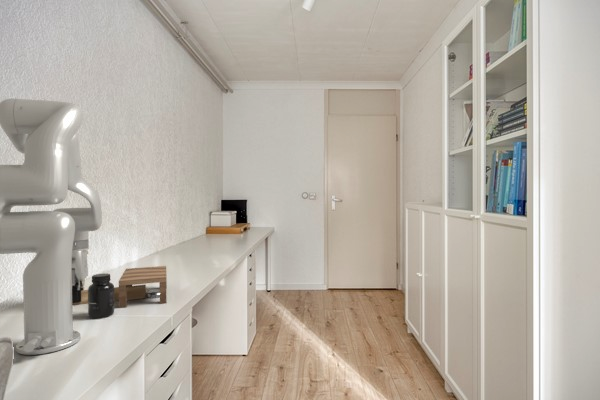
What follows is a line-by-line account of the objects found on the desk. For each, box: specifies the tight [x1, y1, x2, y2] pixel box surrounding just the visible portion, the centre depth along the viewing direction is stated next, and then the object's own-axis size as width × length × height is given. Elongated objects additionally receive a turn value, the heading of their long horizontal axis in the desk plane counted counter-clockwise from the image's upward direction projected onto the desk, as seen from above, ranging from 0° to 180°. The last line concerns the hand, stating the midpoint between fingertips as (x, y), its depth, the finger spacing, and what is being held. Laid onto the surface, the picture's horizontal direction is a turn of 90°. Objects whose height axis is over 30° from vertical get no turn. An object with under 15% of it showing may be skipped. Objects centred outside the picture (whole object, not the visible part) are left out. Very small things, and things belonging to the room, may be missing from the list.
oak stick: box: [72, 284, 147, 306], centre depth 124 cm, size 2×24×4 cm, turn 111°
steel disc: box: [145, 289, 160, 299], centre depth 130 cm, size 6×6×2 cm
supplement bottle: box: [87, 273, 115, 319], centre depth 109 cm, size 7×7×12 cm
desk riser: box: [118, 265, 168, 309], centre depth 128 cm, size 22×14×8 cm, turn 20°
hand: (76, 300), depth 121 cm, fingers closed on oak stick, 2 cm apart
